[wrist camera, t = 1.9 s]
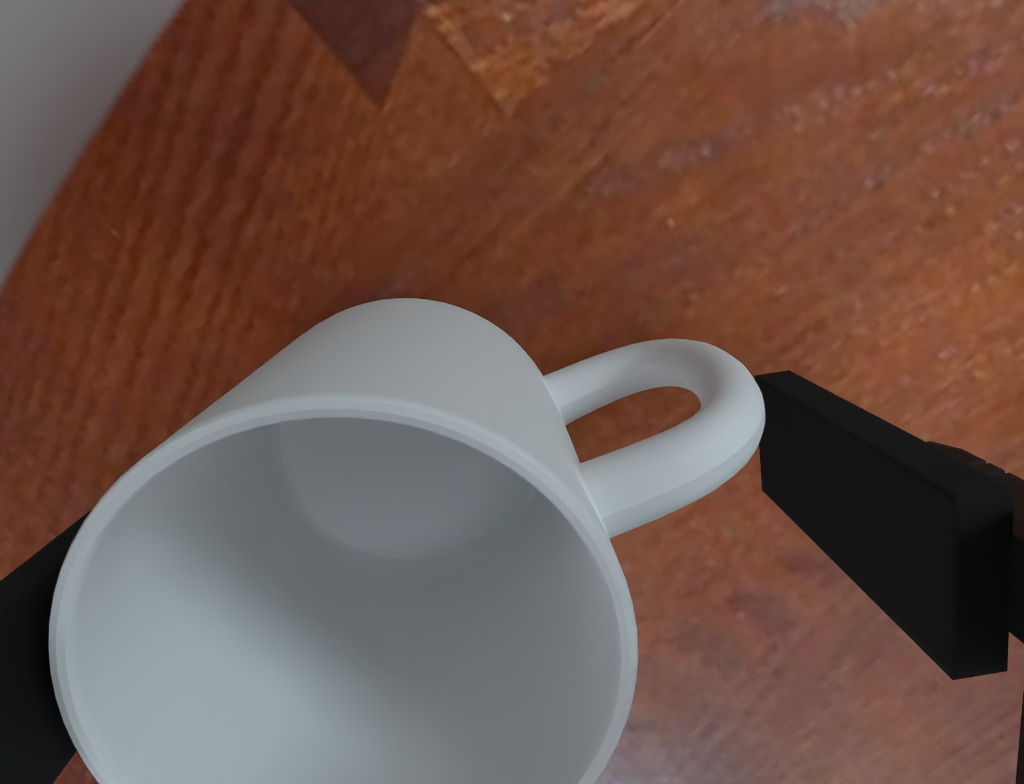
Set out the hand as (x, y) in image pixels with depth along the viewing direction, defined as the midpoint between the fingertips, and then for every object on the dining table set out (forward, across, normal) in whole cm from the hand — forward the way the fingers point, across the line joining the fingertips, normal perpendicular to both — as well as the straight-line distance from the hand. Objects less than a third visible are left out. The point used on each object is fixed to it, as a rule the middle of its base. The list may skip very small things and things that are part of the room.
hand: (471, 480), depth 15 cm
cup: (+5, 0, 0) cm, 5 cm away
